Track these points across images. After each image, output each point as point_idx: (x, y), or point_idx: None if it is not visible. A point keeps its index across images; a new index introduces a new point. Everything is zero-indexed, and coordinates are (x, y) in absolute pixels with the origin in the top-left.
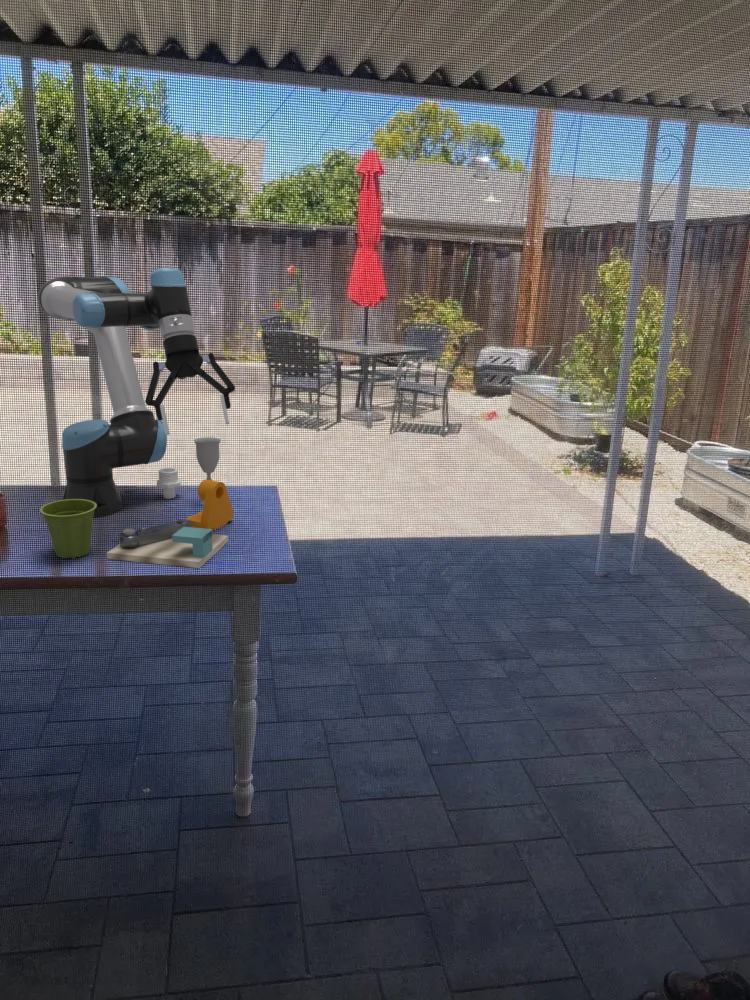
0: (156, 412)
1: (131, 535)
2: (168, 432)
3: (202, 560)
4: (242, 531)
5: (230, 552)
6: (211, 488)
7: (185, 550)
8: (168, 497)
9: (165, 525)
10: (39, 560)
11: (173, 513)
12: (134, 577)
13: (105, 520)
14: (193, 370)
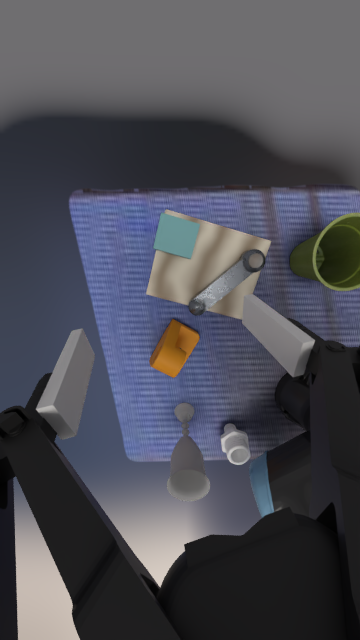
0: (309, 332)
1: None
2: (245, 296)
3: None
4: (136, 325)
5: (139, 260)
6: (166, 348)
7: None
8: (230, 424)
9: (217, 294)
10: None
11: (218, 379)
12: (231, 185)
13: None
14: (189, 623)
